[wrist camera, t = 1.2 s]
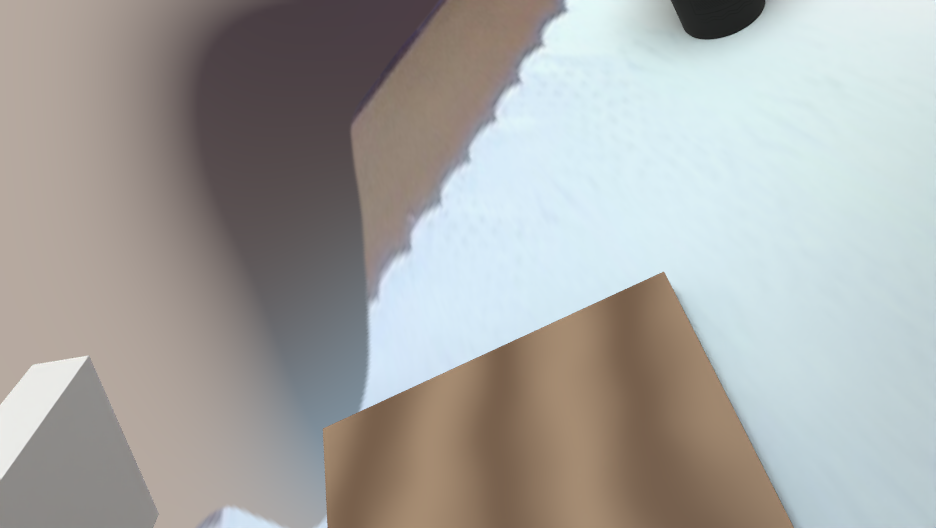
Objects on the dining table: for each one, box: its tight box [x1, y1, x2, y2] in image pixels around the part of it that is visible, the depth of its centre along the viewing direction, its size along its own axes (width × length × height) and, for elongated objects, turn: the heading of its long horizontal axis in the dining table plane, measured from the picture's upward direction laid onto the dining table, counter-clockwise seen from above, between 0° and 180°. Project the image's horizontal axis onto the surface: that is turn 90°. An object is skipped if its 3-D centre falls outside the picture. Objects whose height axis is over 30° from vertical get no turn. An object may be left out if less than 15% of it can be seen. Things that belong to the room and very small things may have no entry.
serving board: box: [323, 272, 794, 528], centre depth 34 cm, size 18×13×2 cm
